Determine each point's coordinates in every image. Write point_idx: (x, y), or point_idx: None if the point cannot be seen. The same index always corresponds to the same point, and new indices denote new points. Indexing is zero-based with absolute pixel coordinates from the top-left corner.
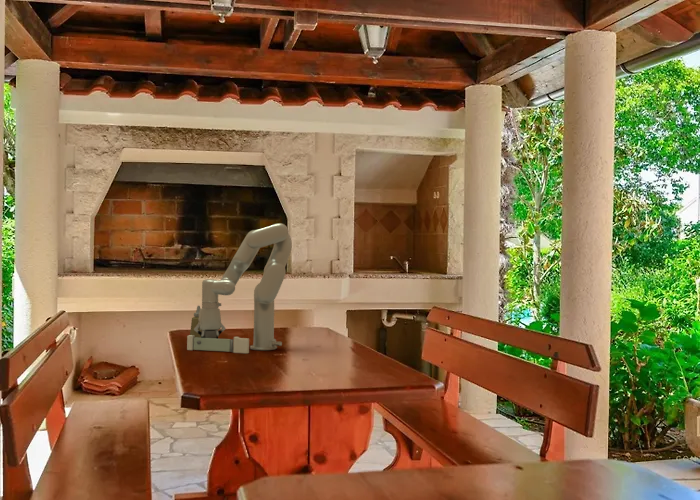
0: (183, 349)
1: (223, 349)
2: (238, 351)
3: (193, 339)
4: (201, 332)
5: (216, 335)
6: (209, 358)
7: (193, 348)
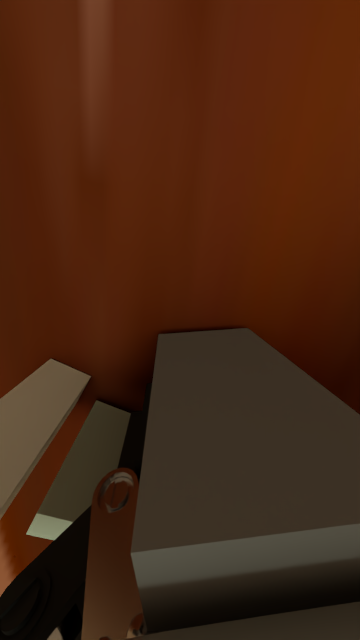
0: (3, 361)
1: None
2: None
3: (29, 471)
4: (99, 568)
5: None
6: None
7: (80, 393)
